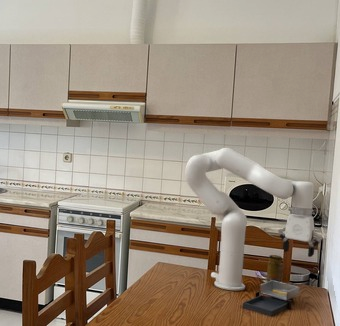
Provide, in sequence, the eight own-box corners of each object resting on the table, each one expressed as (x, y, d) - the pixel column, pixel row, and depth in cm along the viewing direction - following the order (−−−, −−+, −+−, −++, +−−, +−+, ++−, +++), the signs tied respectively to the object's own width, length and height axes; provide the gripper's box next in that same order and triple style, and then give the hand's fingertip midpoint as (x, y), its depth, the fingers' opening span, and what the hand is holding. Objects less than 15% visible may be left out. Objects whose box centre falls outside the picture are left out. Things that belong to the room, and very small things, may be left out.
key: (271, 291, 195) (271, 290, 195) (274, 290, 196) (274, 289, 196) (285, 295, 191) (285, 293, 191) (287, 294, 192) (288, 292, 192)
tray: (242, 307, 183) (243, 302, 183) (260, 299, 194) (261, 294, 194) (271, 316, 176) (271, 311, 176) (288, 307, 186) (288, 302, 186)
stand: (254, 300, 193) (255, 291, 193) (266, 294, 201) (267, 287, 201) (289, 309, 184) (289, 301, 184) (300, 304, 191) (300, 295, 191)
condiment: (274, 280, 224) (276, 254, 223) (288, 285, 216) (290, 258, 215) (261, 281, 221) (263, 254, 220) (274, 286, 213) (276, 259, 212)
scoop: (259, 293, 193) (260, 284, 193) (277, 286, 205) (278, 277, 205) (287, 301, 185) (288, 291, 185) (304, 293, 197) (305, 284, 197)
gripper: (276, 209, 202) (273, 250, 203) (320, 215, 190) (316, 259, 191) (284, 208, 207) (280, 248, 208) (327, 214, 195) (323, 257, 196)
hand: (298, 253), depth 200 cm, fingers open, 9 cm apart
